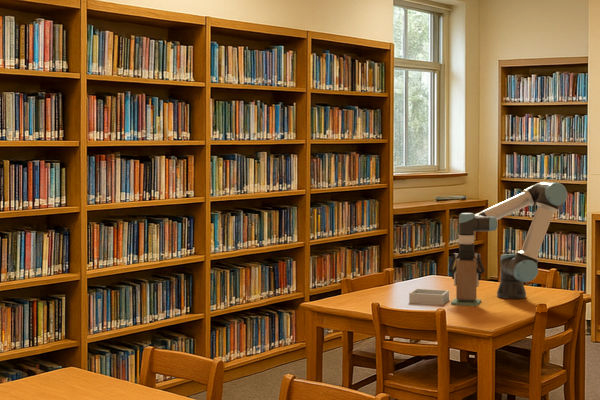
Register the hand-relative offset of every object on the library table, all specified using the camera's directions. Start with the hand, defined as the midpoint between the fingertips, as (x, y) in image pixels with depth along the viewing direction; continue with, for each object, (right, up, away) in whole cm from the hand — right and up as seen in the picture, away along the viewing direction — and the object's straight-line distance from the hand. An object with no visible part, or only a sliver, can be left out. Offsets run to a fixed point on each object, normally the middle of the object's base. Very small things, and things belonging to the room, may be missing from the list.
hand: (466, 286), depth 425 cm
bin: (-18, -9, +7) cm, 21 cm away
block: (0, -7, 0) cm, 7 cm away
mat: (0, -9, +1) cm, 9 cm away
